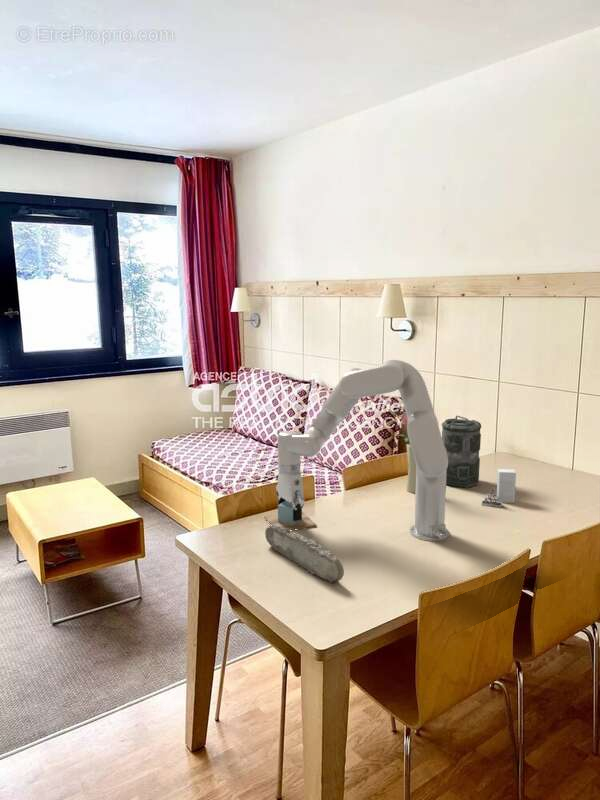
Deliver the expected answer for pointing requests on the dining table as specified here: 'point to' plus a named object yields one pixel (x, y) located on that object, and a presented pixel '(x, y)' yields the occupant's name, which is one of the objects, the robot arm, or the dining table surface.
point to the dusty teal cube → (286, 513)
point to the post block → (301, 524)
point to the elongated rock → (305, 553)
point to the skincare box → (506, 485)
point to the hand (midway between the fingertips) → (290, 515)
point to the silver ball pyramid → (490, 503)
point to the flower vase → (410, 463)
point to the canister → (462, 451)
